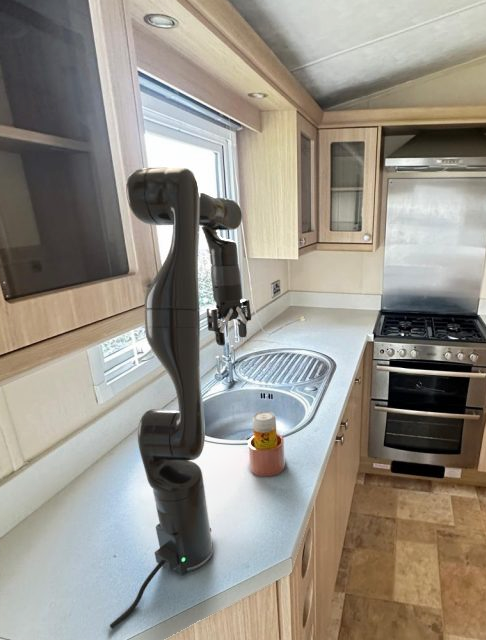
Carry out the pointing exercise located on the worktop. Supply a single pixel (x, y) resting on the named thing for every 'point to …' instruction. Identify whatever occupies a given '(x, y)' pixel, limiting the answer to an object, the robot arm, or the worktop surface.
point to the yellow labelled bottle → (264, 430)
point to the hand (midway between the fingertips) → (232, 340)
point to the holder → (267, 458)
